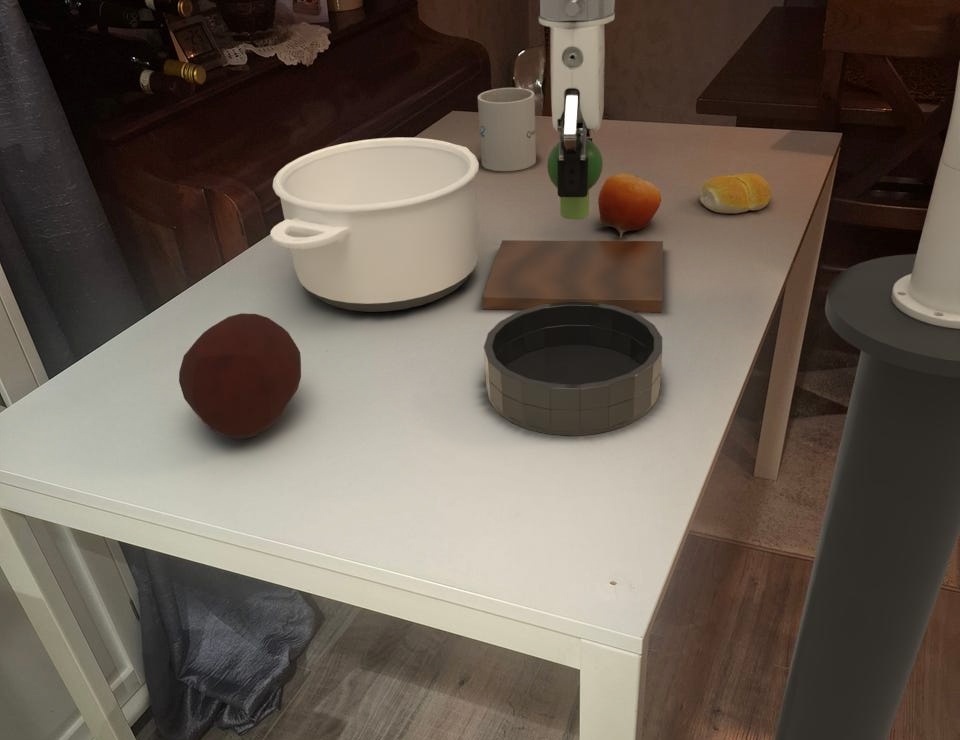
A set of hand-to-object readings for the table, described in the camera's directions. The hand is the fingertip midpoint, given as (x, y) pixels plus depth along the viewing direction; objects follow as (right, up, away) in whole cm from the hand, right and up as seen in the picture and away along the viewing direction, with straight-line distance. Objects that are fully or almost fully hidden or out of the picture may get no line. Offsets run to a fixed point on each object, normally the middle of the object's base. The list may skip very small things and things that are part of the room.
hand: (575, 183), depth 99 cm
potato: (-32, -27, -13) cm, 44 cm away
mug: (-5, +18, +43) cm, 47 cm away
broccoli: (0, -3, +2) cm, 3 cm away
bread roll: (+24, +4, +22) cm, 33 cm away
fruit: (+9, 0, +19) cm, 21 cm away
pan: (-2, -24, -12) cm, 27 cm away
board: (+1, -9, +7) cm, 11 cm away
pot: (-21, -9, +10) cm, 25 cm away
